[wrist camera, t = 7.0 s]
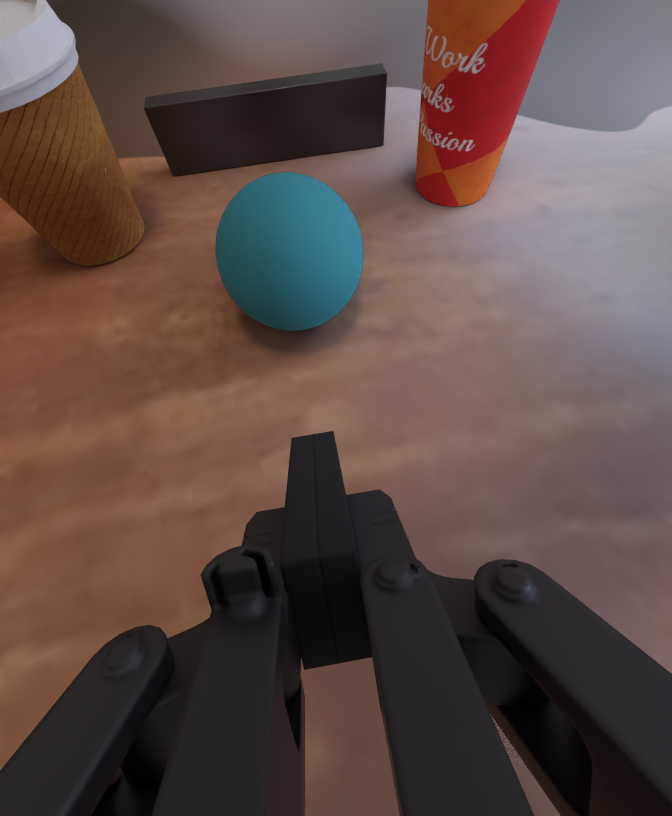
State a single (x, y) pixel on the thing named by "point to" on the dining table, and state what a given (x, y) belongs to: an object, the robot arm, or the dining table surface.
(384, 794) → the dining table surface
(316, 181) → the ball
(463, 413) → the dining table surface
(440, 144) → the paper cup
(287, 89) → the block
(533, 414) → the dining table surface
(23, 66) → the disposable coffee cup
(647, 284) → the dining table surface
